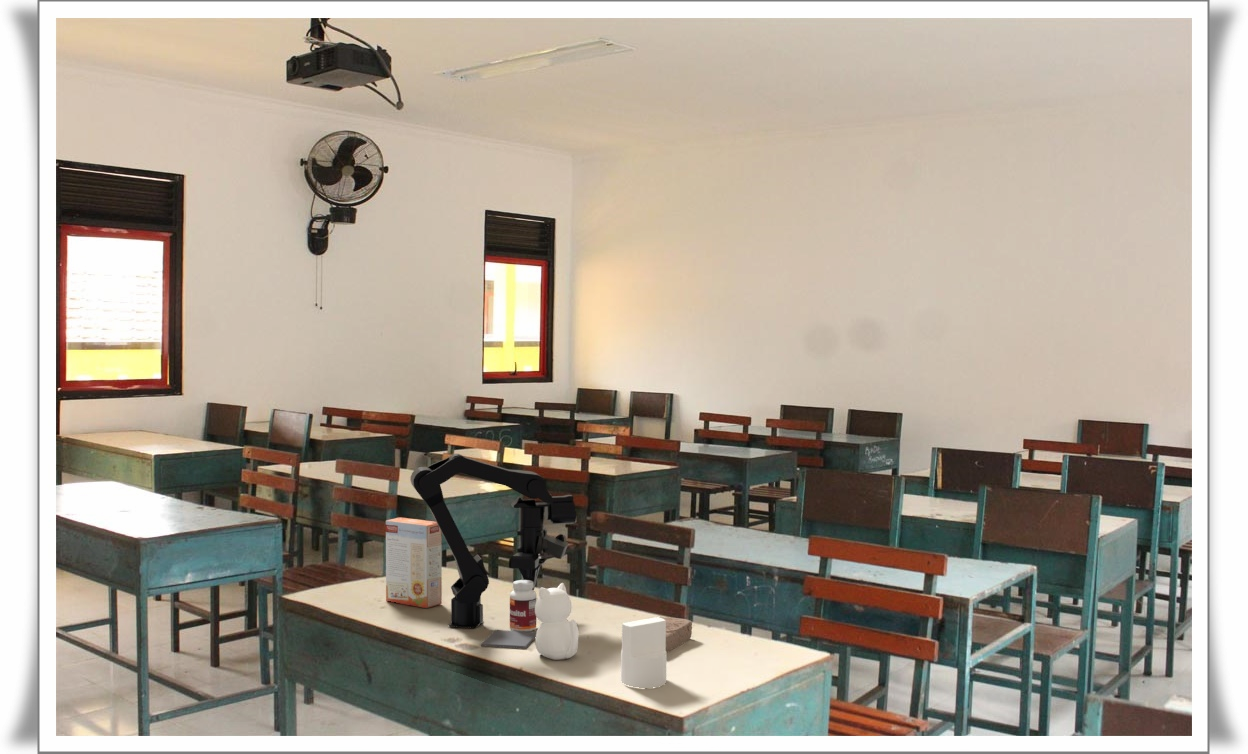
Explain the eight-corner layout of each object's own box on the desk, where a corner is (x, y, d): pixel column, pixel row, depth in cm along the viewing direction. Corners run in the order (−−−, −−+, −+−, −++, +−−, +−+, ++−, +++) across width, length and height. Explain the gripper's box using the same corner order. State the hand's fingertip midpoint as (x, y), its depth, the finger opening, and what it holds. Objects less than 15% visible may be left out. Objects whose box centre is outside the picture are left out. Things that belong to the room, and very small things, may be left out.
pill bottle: (504, 630, 259) (504, 582, 258) (520, 624, 264) (520, 577, 264) (525, 634, 256) (525, 586, 255) (541, 628, 261) (541, 581, 260)
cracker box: (443, 604, 282) (442, 521, 281) (426, 609, 277) (426, 525, 276) (401, 596, 289) (401, 516, 288) (385, 601, 284) (384, 519, 283)
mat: (481, 646, 246) (481, 643, 246) (495, 632, 257) (495, 629, 257) (525, 648, 244) (525, 646, 244) (537, 634, 255) (537, 632, 255)
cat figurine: (556, 646, 247) (555, 578, 246) (594, 658, 238) (594, 587, 237) (524, 655, 240) (523, 585, 240) (562, 667, 231) (561, 595, 231)
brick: (657, 659, 239) (658, 637, 238) (623, 653, 243) (624, 631, 243) (693, 640, 253) (693, 619, 253) (660, 635, 257) (660, 614, 257)
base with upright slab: (638, 692, 217) (638, 630, 216) (612, 679, 224) (612, 620, 224) (675, 683, 222) (675, 623, 221) (648, 671, 229) (649, 613, 229)
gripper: (555, 534, 256) (555, 602, 257) (573, 519, 274) (572, 583, 275) (508, 532, 258) (508, 599, 259) (528, 518, 276) (528, 581, 277)
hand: (531, 590), depth 267 cm, fingers closed
